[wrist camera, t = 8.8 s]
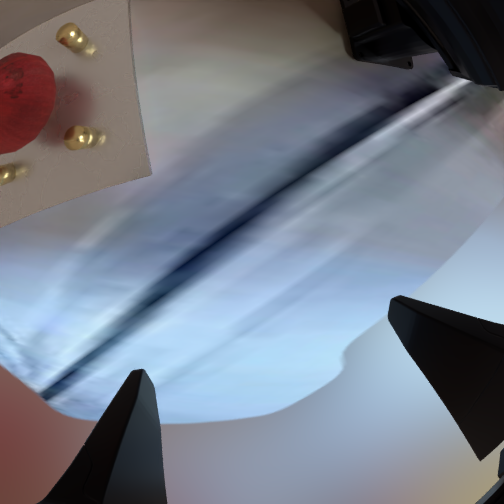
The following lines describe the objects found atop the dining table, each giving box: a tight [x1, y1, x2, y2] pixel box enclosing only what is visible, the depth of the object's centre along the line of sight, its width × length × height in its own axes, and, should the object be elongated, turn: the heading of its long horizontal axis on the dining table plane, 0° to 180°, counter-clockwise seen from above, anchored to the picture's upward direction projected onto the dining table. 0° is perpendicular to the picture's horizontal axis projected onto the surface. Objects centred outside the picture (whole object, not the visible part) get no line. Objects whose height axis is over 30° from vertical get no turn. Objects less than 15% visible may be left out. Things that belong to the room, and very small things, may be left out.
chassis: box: [0, 0, 152, 228], centre depth 11 cm, size 14×14×4 cm
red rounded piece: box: [0, 52, 56, 155], centre depth 8 cm, size 6×6×8 cm
